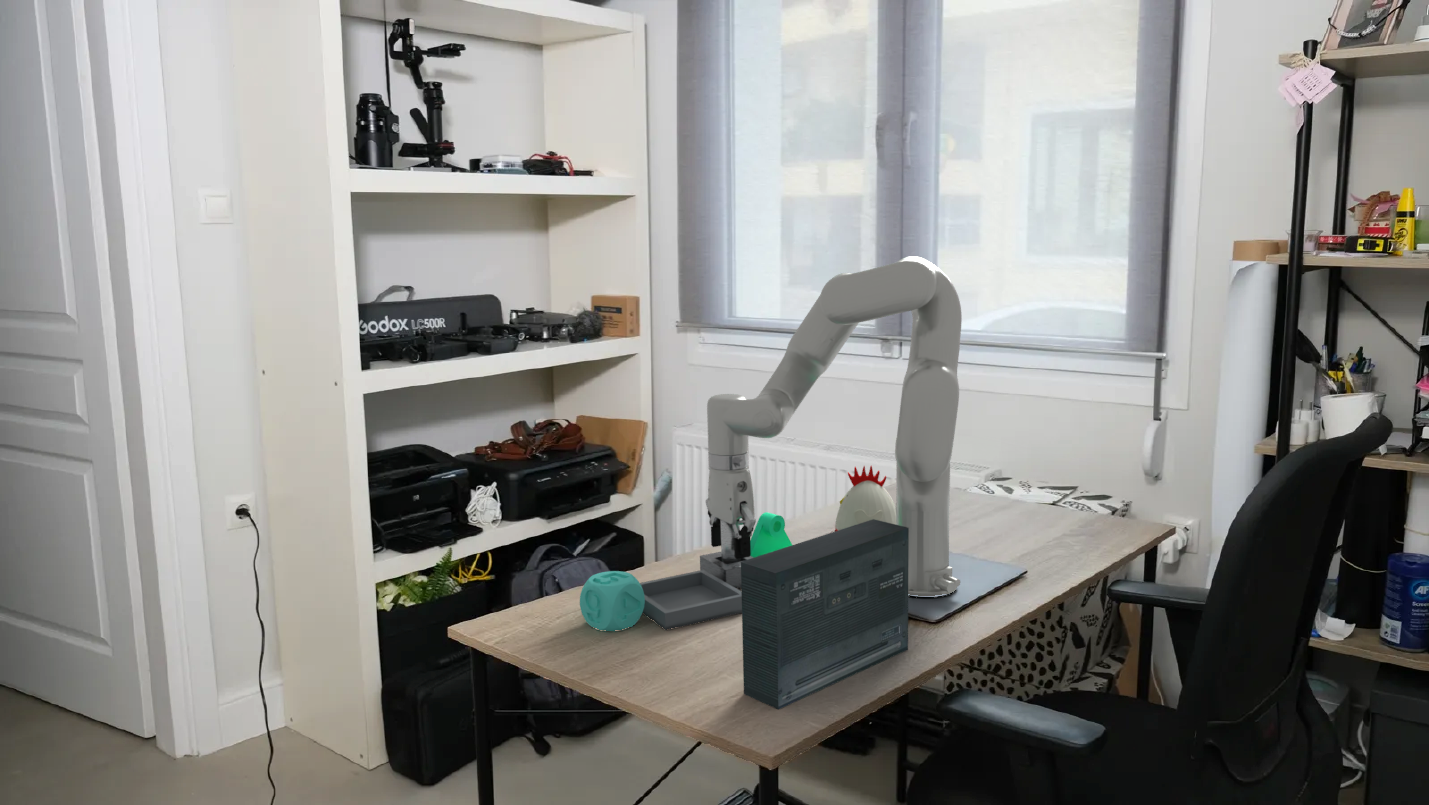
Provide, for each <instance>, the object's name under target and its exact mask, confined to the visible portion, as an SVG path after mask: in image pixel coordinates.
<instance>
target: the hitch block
mask: <svg viewBox="0 0 1429 805" xmlns="http://www.w3.org/2000/svg"><path fill="white" fill-rule="evenodd" d="M751 558H754V557H752V556H750V557H745V558H741V562H742V561H745V560H748V559H751ZM741 562H736V563H731V564H725V563H723V562H722V559H721V551H716V552H713V553H712V552H711V553H707V554H702V555H701V554H700V555H699V571H700V570H705V571H706V572H708V573H710V574H712V575H713V576H715V577H717V578H719V579H720V580H722V581H724V582H726V583H728V584H729V585H731V586H733V587H735V588H736V589H741Z"/></svg>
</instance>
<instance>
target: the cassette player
mask: <svg viewBox="0 0 1429 805" xmlns="http://www.w3.org/2000/svg"><path fill="white" fill-rule="evenodd" d="M908 559H909V528H908V527H903V526H899V525H895V524H891V523H887V522H883V521H879V520H875V519H872V520H869V521H866V522H863V523H860V524H857V525H854V526H851V527H848V528H844V529H841V530H838V531H835V530H834V531H833V532H832V531H831V532H830V533H826V534H823V535H819V536H817V537H813V538H811V539H808V540H804V541H801V542H798V543H795V544H792V546H789V547H785V548H782V549H779V550H776V551H773V552H770V553H767V554H764V555H761V556H757V557H754V558H751V559H748V560H745V561H742V562H741V588H740V589H741V590H740V591H742V613H741V621H742V622H741V623H742V625H741V627H742V628H741V629H742V632H741V633H742V666H743V667H742V671H743V672H742V675H743V677H742V678H743V695H745V696H747V697H749V698H751V699H754V700H756V701H758V702H761V703H763V704H766V705H768V706H769V707H772V708H774V709H776V710H781V709H783V708H785V707H787V706H790V705H791V704H794V703H795V702H798V701H801V700H802V699H805V698H806V697H809V696H811V695H812V694H815V693H817V692H820V691H822V690H824V689H826V688H828V687H830V686H832V685H835V684H837V683H839V682H841V681H843V680H845V679H848V678H850V677H852V676H854V675H856V674H858V673H860V672H863V671H865V670H867V669H869V668H872V667H874V666H877V664H880V663H882V662H884V661H887V660H889V659H890V658H893V657H895V656H898V655H900V654H902V653H904V652H906V651H908V650H909V596H908Z"/></svg>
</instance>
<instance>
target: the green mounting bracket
mask: <svg viewBox="0 0 1429 805" xmlns="http://www.w3.org/2000/svg"><path fill="white" fill-rule="evenodd" d="M785 521H786V520H785V518H784V517H783V516H782V515H779V514H775V513H771V512H768V511H767V512H763V513H762V514H760V516H759V517H758V520H757V521H756V522H757V523H756V525H755V526H754V527H755V528H754V529H753V531H752V536H751V537H750V546H751V555H750V556H752V557H757V556H761V555H764V554H767V553H770V552H773V551H776V550H779V549H782V548H785V547H789V546H792V545H793V543H792V541H791V540H790V538H789V536H788V534H787V532H786V531H785V528H786V522H785Z"/></svg>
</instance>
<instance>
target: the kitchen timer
mask: <svg viewBox="0 0 1429 805" xmlns="http://www.w3.org/2000/svg"><path fill="white" fill-rule="evenodd" d="M868 470H869V471H868V475H867V473H866V467H865V465H863V467H862V471H861V475H860V474H859V472H858V469H857V467H856V466H854V471H853V476H852V475H851V474H850V472H848V471H847V476H848V478H849V480H850V482H851V484H852V486H851V488H850V489H849V490H847V492H846V494H845V495H844V497H843V498H841V500H840V501H839V504H840V505H839V508H838V511H837V514H836V518H835V524H834V529H835V530H834V532H835V531H838V530H841V529H844V528H848V527H851V526H854V525H857V524H860V523H863V522H866V521H869V520H872V519H875V520H879V521H883V522H887V523H891V524H895V525H896V503H895V501H894V500H893V498H892V496H891V495H890V493H889V492H888V491H887V489H886V488H885V487H884V485H885V482H886V481H887V475H885V476H883V478H882V480H880V481H879V476H880V475H881V474H880V471H881V470H877V472H876V474H875V475H874V471H873V466H872V465H870V467H869V469H868Z"/></svg>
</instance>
